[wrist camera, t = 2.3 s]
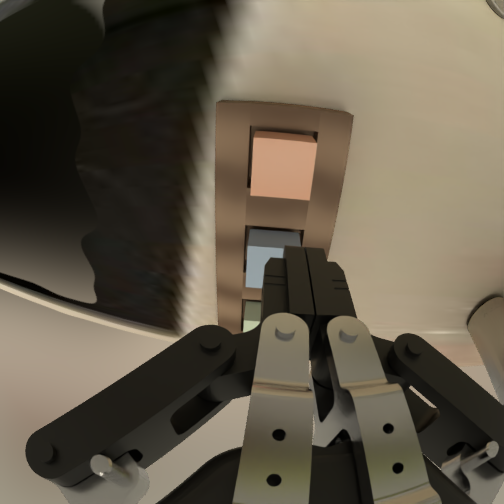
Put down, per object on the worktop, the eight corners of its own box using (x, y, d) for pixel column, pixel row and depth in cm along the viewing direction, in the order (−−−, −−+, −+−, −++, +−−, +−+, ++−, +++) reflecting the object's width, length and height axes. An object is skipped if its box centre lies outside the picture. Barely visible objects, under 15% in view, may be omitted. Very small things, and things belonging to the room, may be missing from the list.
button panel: (303, 328, 42) (304, 344, 39) (221, 322, 42) (218, 338, 40) (345, 111, 25) (353, 115, 22) (221, 100, 25) (216, 102, 23)
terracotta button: (305, 186, 27) (309, 200, 24) (252, 182, 27) (250, 195, 24) (312, 135, 24) (317, 143, 21) (255, 130, 24) (253, 137, 22)
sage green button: (282, 330, 38) (282, 349, 35) (244, 328, 38) (242, 346, 36) (287, 304, 35) (287, 323, 33) (246, 301, 35) (243, 320, 33)
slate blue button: (292, 271, 32) (294, 290, 30) (247, 268, 33) (245, 287, 30) (298, 232, 30) (301, 250, 27) (250, 228, 30) (247, 245, 27)
